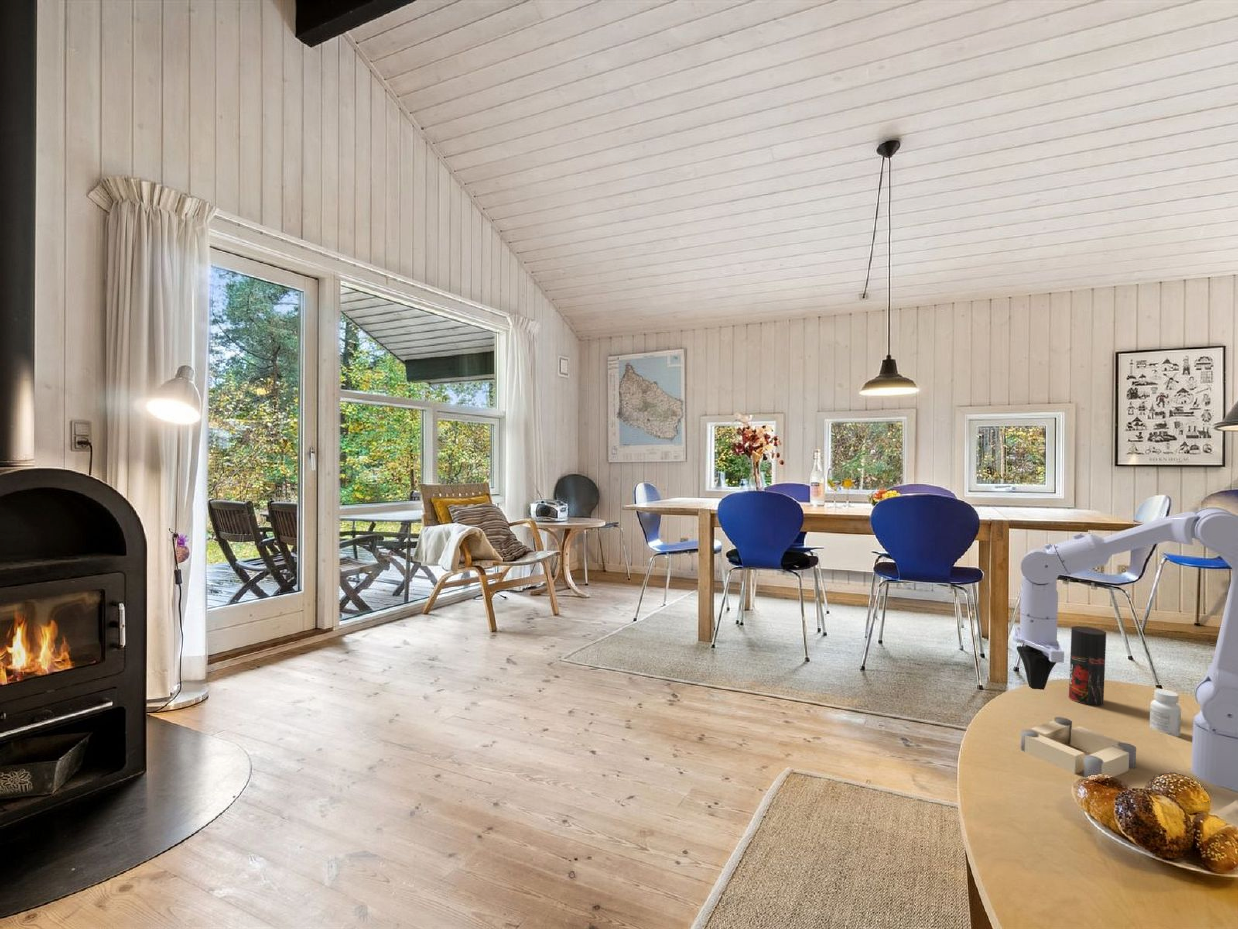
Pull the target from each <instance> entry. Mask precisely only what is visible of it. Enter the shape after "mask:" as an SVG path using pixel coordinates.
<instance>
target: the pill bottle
mask: <svg viewBox="0 0 1238 929" xmlns="http://www.w3.org/2000/svg"><path fill="white" fill-rule="evenodd" d="M1153 694H1154V695H1153V698H1154V699H1152V700H1151V702H1150V706H1149V707H1150V708H1149V709H1150V710H1149V728H1150V729H1152V730H1155V731H1157V732H1159V733H1163V734H1166V735H1169V736H1172V737H1175V738H1178V737H1180V736H1181V727H1182V726H1181V724H1182V723H1181V722H1182V720H1181V719H1182V708H1181V707H1180V705H1179V704H1178V703H1179V697H1180V696H1179V694H1178V693H1177V692H1175V691H1171V690H1169V689H1163V688H1162V689H1161V688H1156V689H1154V693H1153Z"/></svg>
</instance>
